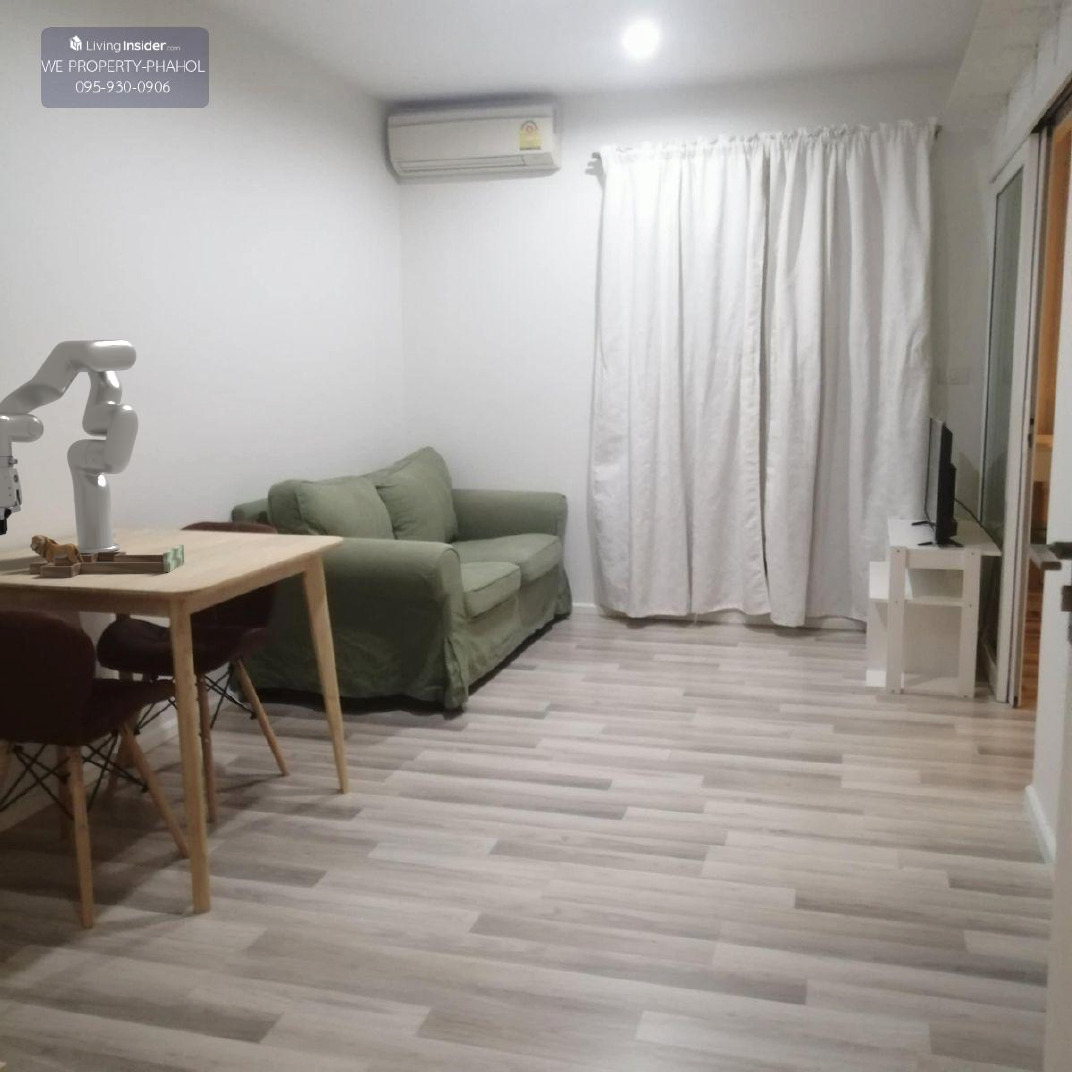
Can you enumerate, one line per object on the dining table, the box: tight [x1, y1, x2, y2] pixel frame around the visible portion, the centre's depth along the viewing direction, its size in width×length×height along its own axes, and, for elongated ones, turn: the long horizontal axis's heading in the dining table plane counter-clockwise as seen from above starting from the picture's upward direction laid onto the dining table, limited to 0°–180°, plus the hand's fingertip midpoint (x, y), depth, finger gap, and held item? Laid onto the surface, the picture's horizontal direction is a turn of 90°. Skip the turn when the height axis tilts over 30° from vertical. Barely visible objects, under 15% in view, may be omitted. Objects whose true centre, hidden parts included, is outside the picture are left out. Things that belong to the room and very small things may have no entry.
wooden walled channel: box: [29, 544, 185, 578], centre depth 268 cm, size 22×35×5 cm, turn 91°
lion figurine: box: [29, 534, 84, 564], centre depth 268 cm, size 15×5×9 cm, turn 91°
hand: (0, 534), depth 266 cm, fingers closed
